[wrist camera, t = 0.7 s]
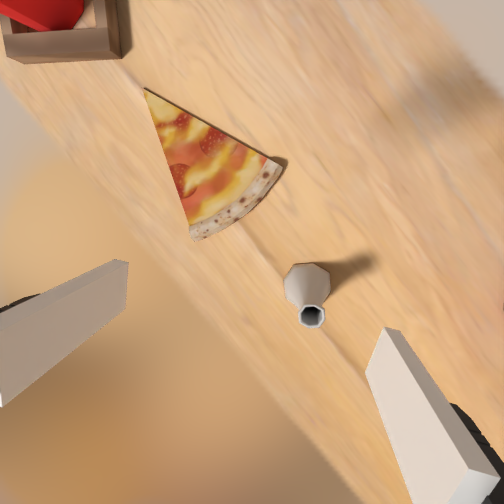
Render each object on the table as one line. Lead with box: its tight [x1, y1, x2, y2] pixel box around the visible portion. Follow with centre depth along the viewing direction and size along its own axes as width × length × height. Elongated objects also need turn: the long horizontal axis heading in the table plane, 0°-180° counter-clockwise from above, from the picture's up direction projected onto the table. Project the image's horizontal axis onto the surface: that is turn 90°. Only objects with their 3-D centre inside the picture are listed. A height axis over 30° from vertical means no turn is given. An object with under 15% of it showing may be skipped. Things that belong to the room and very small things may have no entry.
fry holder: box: [0, 0, 122, 64], centre depth 35 cm, size 12×15×2 cm
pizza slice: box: [142, 88, 283, 242], centre depth 38 cm, size 16×22×2 cm
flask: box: [283, 263, 331, 328], centre depth 37 cm, size 7×7×10 cm
